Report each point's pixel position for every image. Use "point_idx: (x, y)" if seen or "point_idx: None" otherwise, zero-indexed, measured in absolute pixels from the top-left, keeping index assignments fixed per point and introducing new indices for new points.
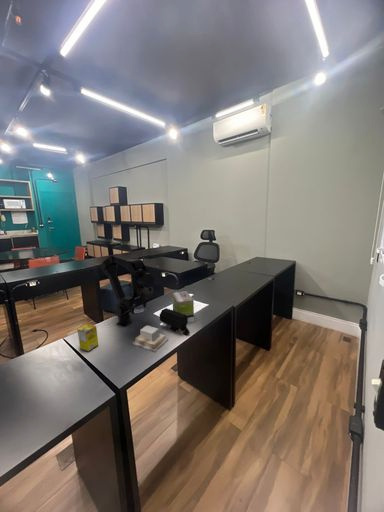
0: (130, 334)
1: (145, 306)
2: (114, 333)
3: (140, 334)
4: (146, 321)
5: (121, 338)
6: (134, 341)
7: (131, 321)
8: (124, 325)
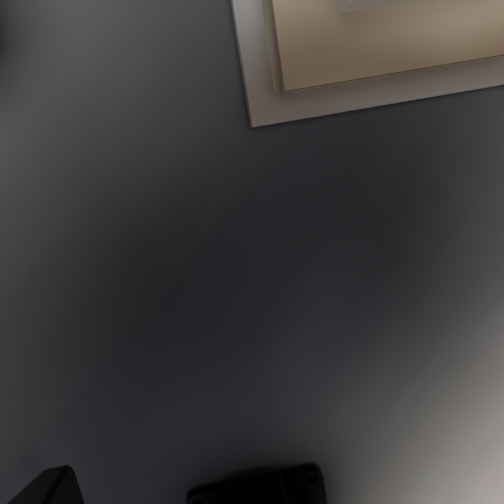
0: (385, 277)
1: (40, 482)
2: (463, 429)
3: (437, 60)
4: (51, 372)
5: (494, 289)
6: (501, 79)
7: (197, 497)
8: (307, 481)
